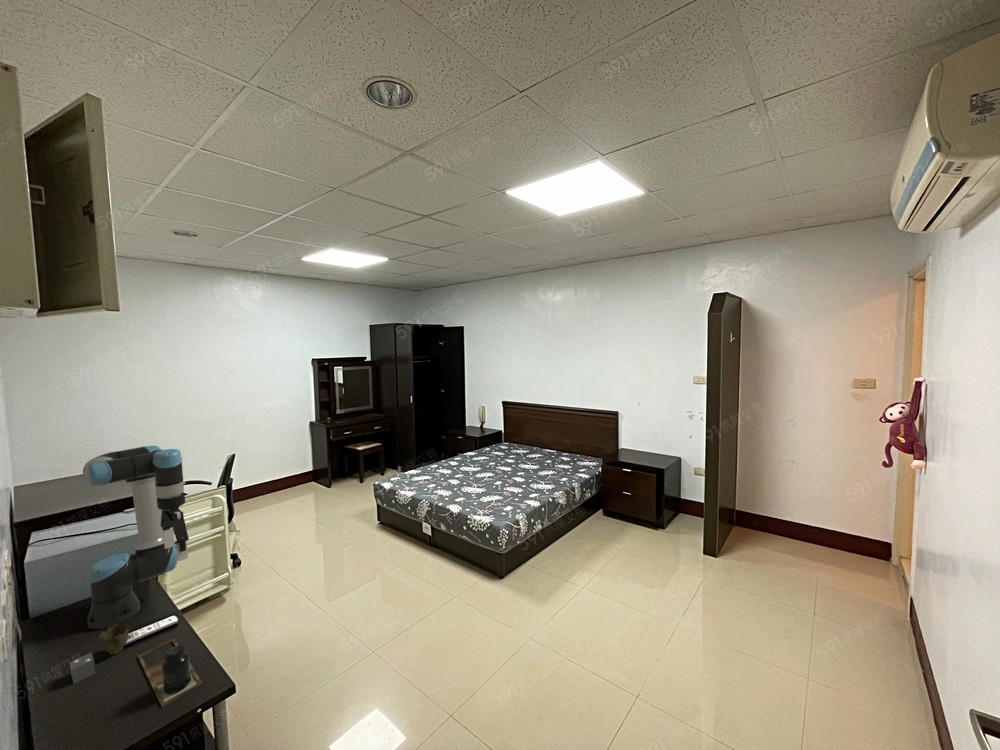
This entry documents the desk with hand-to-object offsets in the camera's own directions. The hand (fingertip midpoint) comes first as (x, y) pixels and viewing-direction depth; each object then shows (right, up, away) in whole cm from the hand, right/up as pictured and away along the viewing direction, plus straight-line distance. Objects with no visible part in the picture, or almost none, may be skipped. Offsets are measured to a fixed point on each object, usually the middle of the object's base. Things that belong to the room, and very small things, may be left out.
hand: (176, 553), depth 142 cm
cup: (-21, -35, +1) cm, 41 cm away
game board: (+3, -36, -7) cm, 37 cm away
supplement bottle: (+11, -36, -14) cm, 40 cm away
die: (-23, -36, -9) cm, 44 cm away
